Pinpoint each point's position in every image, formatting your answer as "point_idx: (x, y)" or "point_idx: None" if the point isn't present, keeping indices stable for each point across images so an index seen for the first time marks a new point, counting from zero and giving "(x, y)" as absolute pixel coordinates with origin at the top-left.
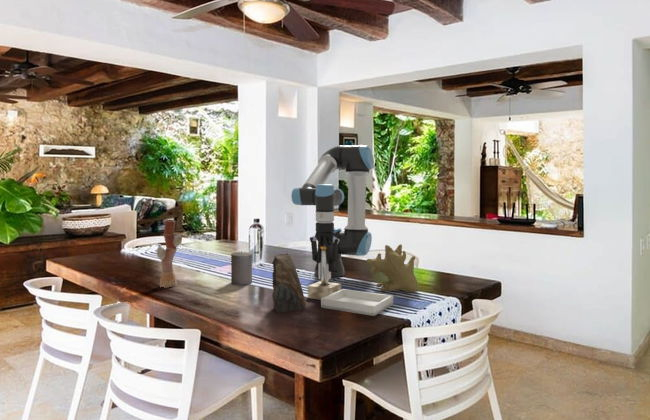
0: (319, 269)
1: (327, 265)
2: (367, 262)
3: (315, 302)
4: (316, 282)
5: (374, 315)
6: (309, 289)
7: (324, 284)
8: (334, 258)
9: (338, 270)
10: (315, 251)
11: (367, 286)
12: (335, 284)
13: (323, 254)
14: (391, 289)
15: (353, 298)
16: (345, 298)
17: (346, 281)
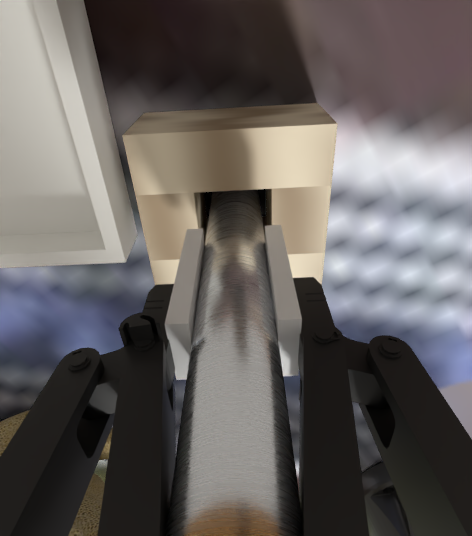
0: (279, 273)
1: (170, 312)
2: (74, 529)
3: (197, 11)
4: (324, 249)
5: None
6: (314, 117)
7: (221, 209)
8: (39, 399)
9: (369, 503)
10: (418, 481)
11: (175, 424)
12: (173, 267)
13: (221, 430)
14: (28, 411)
15: (25, 204)
16: (59, 177)
17: (296, 443)
